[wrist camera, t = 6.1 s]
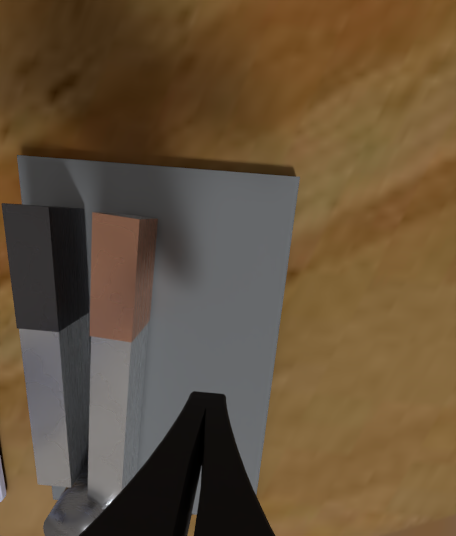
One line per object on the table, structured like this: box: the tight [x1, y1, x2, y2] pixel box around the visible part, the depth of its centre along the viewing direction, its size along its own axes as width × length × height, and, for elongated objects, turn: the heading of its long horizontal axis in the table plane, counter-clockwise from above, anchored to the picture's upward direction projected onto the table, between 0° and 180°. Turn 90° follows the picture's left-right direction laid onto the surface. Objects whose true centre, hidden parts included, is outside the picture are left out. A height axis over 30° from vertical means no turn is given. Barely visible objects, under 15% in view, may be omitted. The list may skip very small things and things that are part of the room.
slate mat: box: [17, 155, 300, 514], centre depth 15 cm, size 24×15×1 cm, turn 176°
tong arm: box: [44, 212, 158, 536], centre depth 14 cm, size 20×4×3 cm, turn 172°
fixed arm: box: [2, 203, 91, 488], centre depth 13 cm, size 16×2×2 cm, turn 176°
